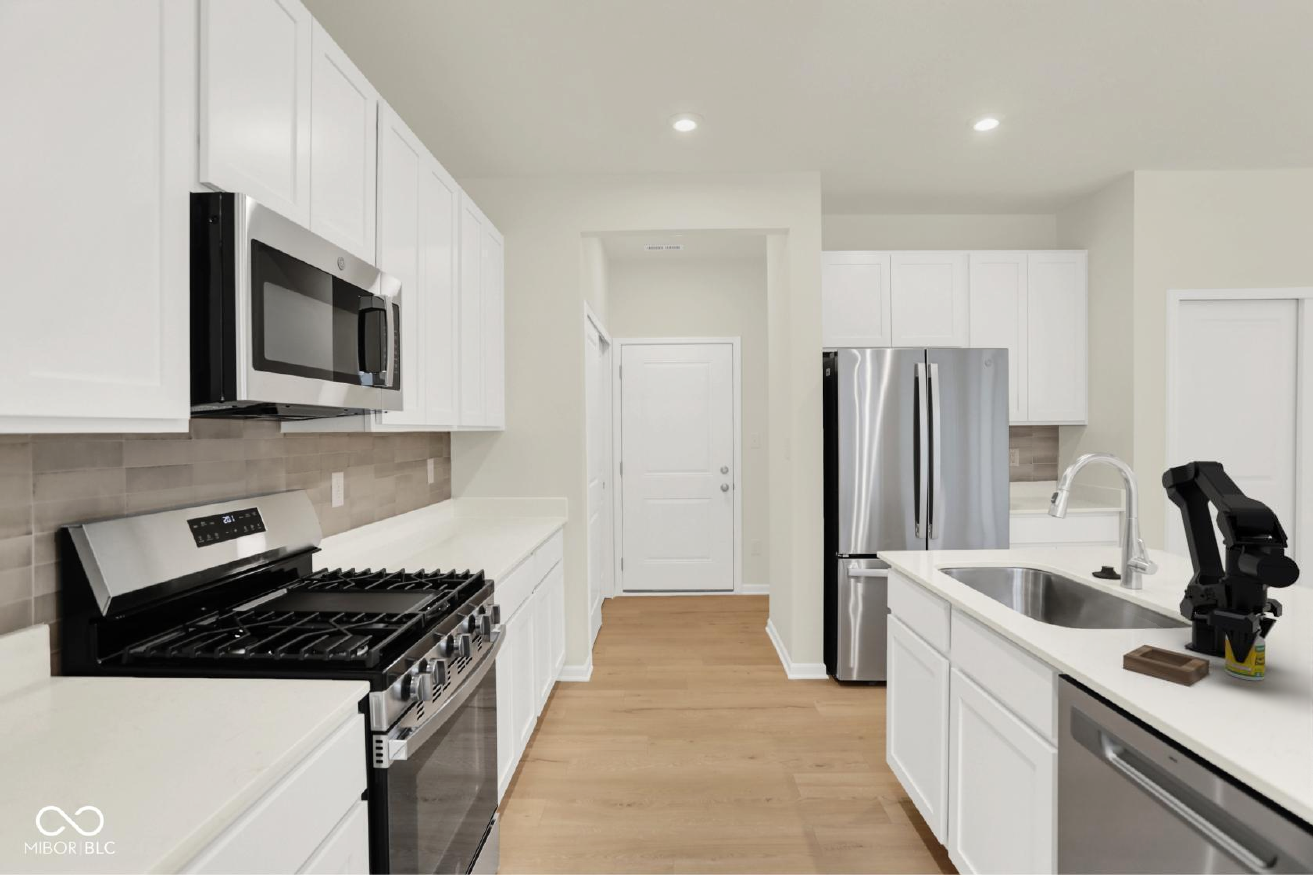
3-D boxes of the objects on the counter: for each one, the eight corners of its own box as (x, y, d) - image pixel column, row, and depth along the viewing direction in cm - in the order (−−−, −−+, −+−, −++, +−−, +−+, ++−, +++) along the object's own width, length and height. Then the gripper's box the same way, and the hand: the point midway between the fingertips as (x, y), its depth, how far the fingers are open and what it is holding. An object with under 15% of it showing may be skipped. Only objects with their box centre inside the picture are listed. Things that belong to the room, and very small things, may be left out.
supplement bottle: (1230, 667, 121) (1231, 617, 120) (1269, 676, 116) (1269, 624, 116) (1220, 674, 118) (1221, 622, 117) (1259, 683, 113) (1260, 630, 113)
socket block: (1144, 657, 126) (1144, 644, 126) (1209, 673, 118) (1209, 659, 118) (1123, 668, 121) (1123, 655, 121) (1189, 686, 112) (1189, 672, 112)
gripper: (1207, 559, 128) (1206, 636, 129) (1172, 573, 118) (1171, 656, 118) (1283, 570, 119) (1282, 653, 119) (1252, 585, 109) (1251, 676, 109)
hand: (1244, 659), depth 117 cm, fingers closed on supplement bottle, 5 cm apart
